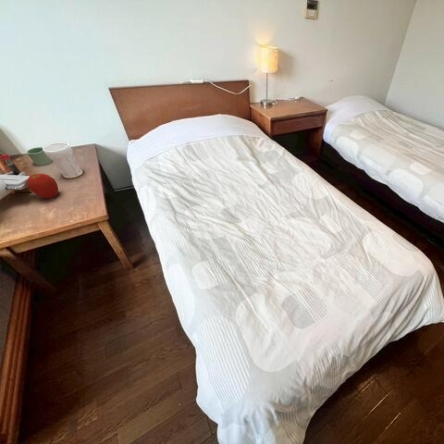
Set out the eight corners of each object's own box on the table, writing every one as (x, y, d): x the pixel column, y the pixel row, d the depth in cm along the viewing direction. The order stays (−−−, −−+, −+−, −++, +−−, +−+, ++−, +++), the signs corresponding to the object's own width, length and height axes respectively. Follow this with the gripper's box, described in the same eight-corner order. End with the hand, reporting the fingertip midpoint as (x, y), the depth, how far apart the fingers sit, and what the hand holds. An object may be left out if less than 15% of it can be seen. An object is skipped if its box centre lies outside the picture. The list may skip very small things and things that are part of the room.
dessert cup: (31, 164, 147) (22, 152, 142) (45, 158, 153) (37, 146, 147) (42, 167, 146) (33, 155, 140) (56, 161, 152) (48, 149, 146)
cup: (59, 173, 143) (40, 145, 131) (83, 167, 149) (66, 140, 137) (63, 182, 137) (43, 153, 125) (87, 175, 143) (70, 148, 131)
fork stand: (15, 192, 128) (10, 185, 125) (28, 183, 134) (22, 177, 131) (32, 192, 129) (27, 186, 126) (43, 184, 135) (38, 178, 132)
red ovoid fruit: (63, 188, 133) (47, 165, 124) (64, 198, 128) (47, 175, 118) (38, 194, 128) (20, 171, 119) (38, 204, 123) (19, 181, 113)
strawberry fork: (23, 189, 130) (-6, 154, 116) (29, 185, 133) (0, 150, 119) (30, 190, 130) (2, 155, 116) (36, 186, 133) (8, 151, 119)
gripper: (14, 184, 114) (37, 168, 124) (-33, 181, 113) (-6, 166, 123) (23, 194, 119) (44, 179, 129) (-22, 192, 117) (3, 176, 127)
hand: (19, 172), depth 126 cm, fingers closed on strawberry fork, 2 cm apart
